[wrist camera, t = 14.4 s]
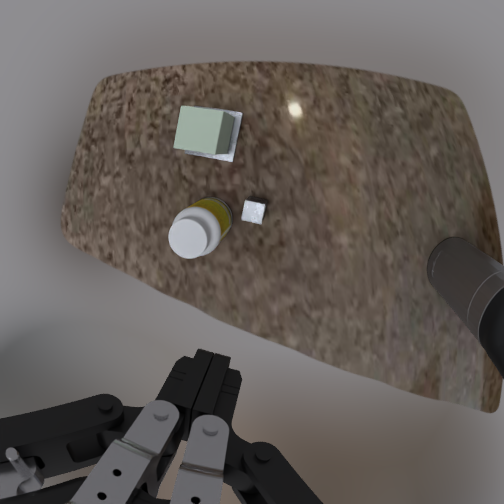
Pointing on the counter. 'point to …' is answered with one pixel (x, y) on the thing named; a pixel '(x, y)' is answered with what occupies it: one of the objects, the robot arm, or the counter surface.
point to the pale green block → (203, 130)
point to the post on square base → (233, 138)
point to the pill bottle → (200, 227)
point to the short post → (254, 209)
